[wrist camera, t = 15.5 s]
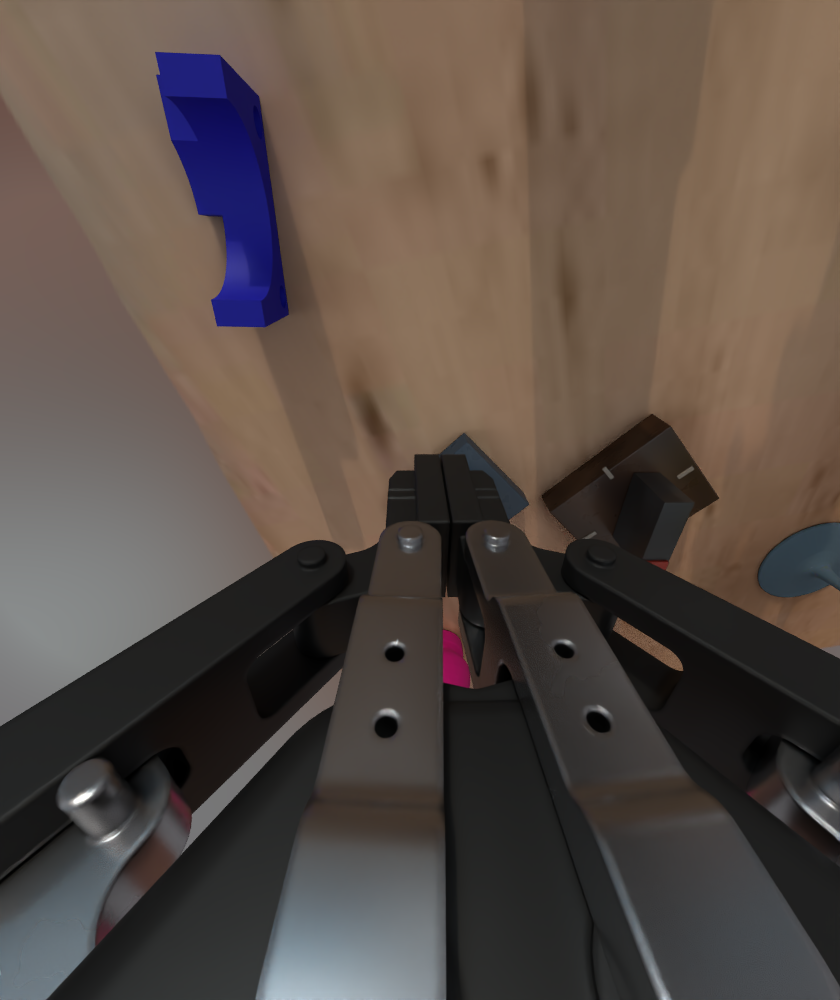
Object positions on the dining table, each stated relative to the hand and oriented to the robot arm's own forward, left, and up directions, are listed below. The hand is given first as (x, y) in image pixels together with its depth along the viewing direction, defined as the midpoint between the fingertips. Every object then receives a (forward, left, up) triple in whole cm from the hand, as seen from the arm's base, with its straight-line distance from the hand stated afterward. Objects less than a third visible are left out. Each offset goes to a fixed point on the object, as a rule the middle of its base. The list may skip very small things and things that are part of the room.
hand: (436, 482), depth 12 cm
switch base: (-4, +24, -23) cm, 34 cm away
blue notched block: (+3, -14, -23) cm, 27 cm away
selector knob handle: (-5, +24, -20) cm, 32 cm away
